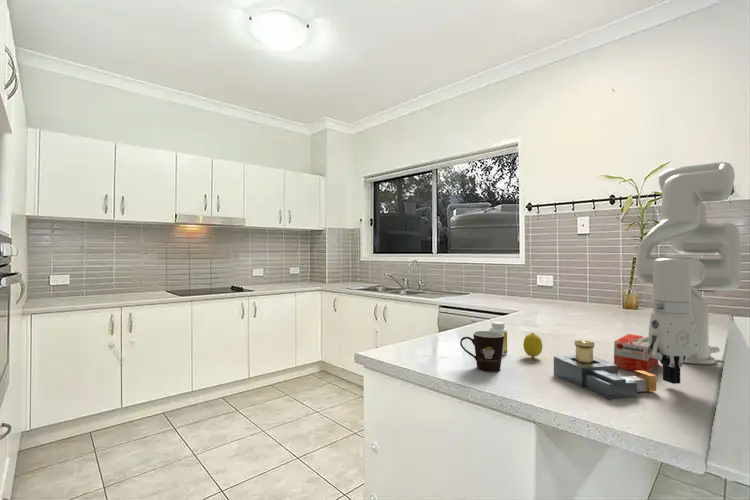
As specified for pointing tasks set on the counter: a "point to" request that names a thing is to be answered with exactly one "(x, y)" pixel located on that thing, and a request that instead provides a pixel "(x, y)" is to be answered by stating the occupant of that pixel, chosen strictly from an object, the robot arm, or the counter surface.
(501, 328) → the supplement bottle
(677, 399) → the counter surface
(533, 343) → the lemon
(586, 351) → the block
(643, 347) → the medicine box
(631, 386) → the mount
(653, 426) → the counter surface
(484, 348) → the coffee mug
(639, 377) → the lock pin
